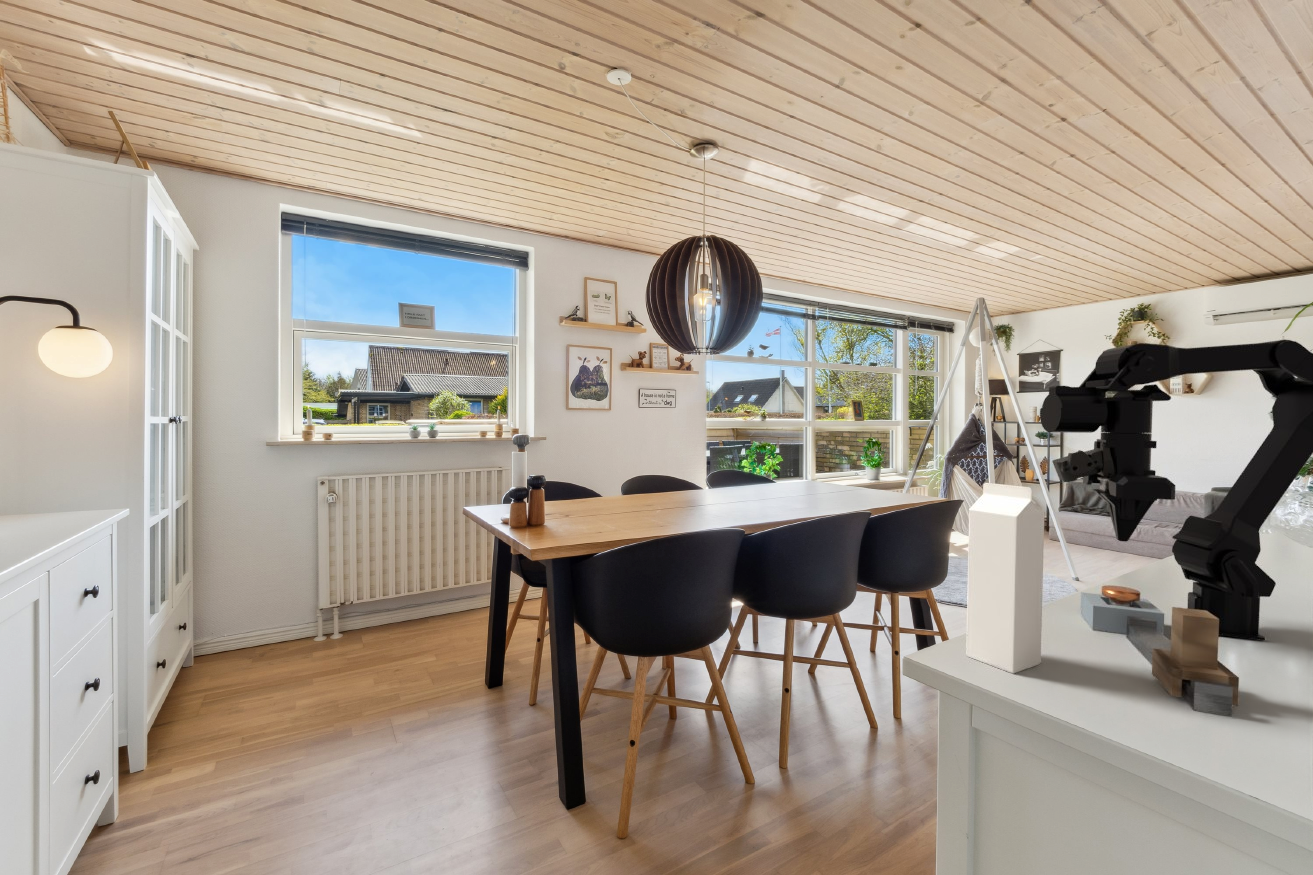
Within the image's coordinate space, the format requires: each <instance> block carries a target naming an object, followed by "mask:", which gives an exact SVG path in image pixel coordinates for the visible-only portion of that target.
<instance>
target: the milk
mask: <svg viewBox="0 0 1313 875" xmlns="http://www.w3.org/2000/svg"><path fill="white" fill-rule="evenodd" d="M982 487H983V488H982V495H981V496H980V497H979V498H978V499H977V500H976V501H975V502H974V503H973V504H972V505H971V506H970V507H969V508H968V543H967V544H968V547H967V549H968V550H967V557H968V558H967V588H966V590H967V599H966V601H967V602H966V640H965V641H966V642H965V643H966V646H965V647H966V648H965V651H966V652H965V656H966V657H968V658H971V659H974V660H975V661H978V662H981V663H984V664H986V665H990V666H991V667H994V668H997V669H1000V670H1003V671H1004V672H1006V673H1007V672H1008V673H1010V674H1012V675H1013V674H1016V673H1019V672H1022V671H1024V670H1027V669H1030V668H1032V667H1035V666H1038V665H1040V664H1041V663H1042V661H1041V660H1042V626H1043V625H1042V624H1043V622H1042V621H1043V589H1044V588H1043V584H1044V583H1043V581H1044V547H1045V546H1044V545H1045V542H1044V541H1045V511H1044V510H1043V509H1042V508H1041V507H1040V506H1039V505H1038V504H1037V503H1036V502H1034V500H1033V489H1032V488H1031V487H1029V486H1020V485H1012V484H1002V483H1001V484H1000V483H993V482H992V483H991V482H984V483H983V486H982ZM967 635H968V636H967Z"/></svg>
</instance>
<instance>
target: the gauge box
mask: <svg viewBox="0 0 1313 875" xmlns="http://www.w3.org/2000/svg"><path fill="white" fill-rule="evenodd" d="M1080 614H1081V615H1082V616H1081V615H1080V616H1081V617H1082V618H1084V619H1085V620H1084V619H1083V620H1084V621H1085V623H1086V624H1087V623H1088V624H1089V625H1090V626H1089V625H1088V624H1087V625H1088V626H1089V627H1090V628H1092V629H1093V630H1092V629H1091V630H1092V631H1097V630H1101V631H1100V632H1105V631H1107V632H1106V633H1113V632H1116V633H1115V634H1121V633H1122V635H1126V632H1127V616H1132V617H1141V618H1149V619H1155V620H1156V621H1157V629H1158V630H1159V631H1160V632H1161V633H1162V634H1163V635H1164V636H1165V613H1164V612H1163V611H1162V610H1161V609H1159V608H1158V607H1157V606H1155V605H1154V604H1153V603H1152V602H1151V601H1150V600H1149V599H1147V598H1141V597H1140V601H1132V607H1125V606H1116V605H1109V598H1108V597H1105V596H1103V595H1102V593H1092V592H1091V593H1090V592H1082V591H1081V593H1080ZM1094 629H1095V630H1094Z"/></svg>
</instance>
